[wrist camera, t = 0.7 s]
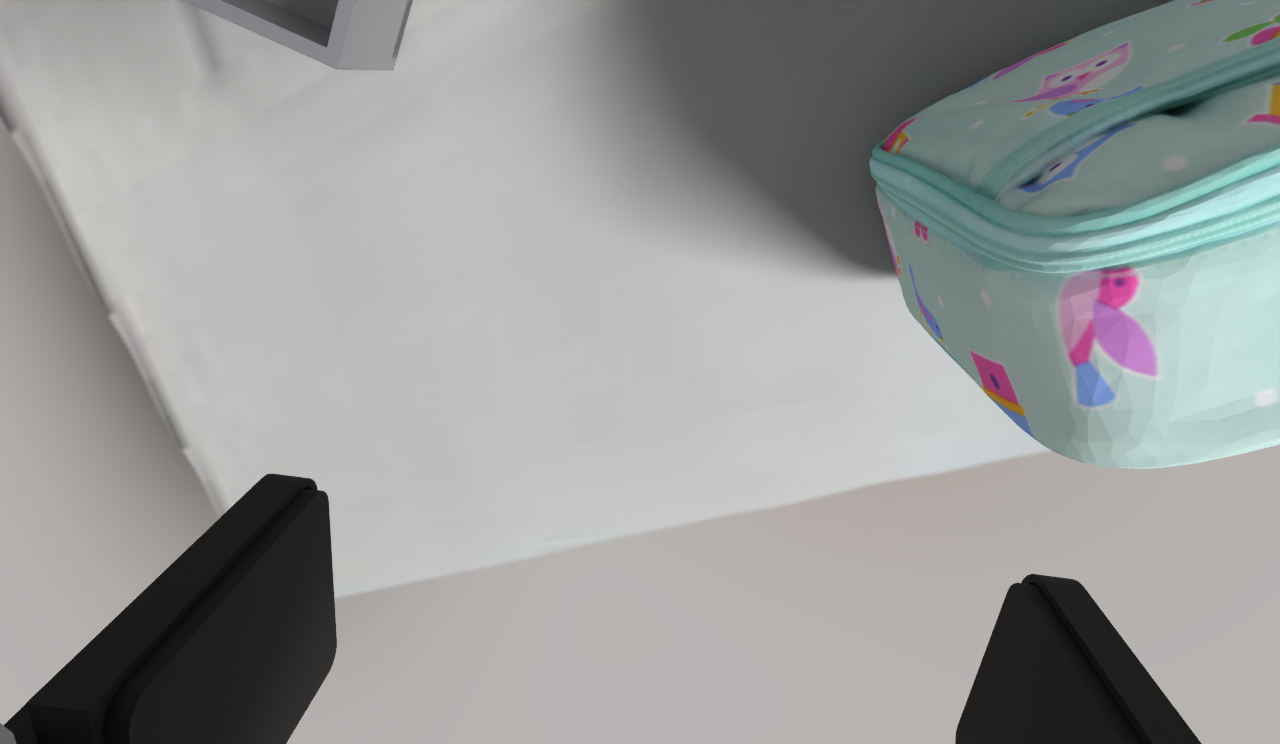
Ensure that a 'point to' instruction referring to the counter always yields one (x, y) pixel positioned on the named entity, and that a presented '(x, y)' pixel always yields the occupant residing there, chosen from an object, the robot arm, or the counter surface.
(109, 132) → the counter surface
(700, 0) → the counter surface
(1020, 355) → the lunch box
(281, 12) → the box
